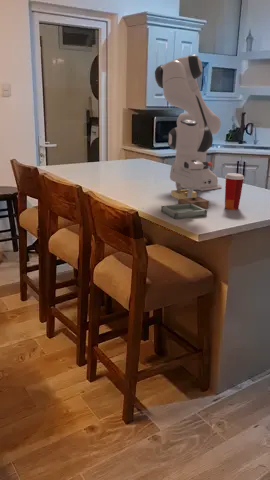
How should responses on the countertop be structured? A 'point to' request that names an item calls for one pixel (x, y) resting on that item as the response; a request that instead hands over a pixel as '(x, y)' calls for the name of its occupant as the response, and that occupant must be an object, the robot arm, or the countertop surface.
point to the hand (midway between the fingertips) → (183, 195)
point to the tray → (183, 211)
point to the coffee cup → (233, 190)
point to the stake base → (195, 202)
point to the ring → (182, 194)
